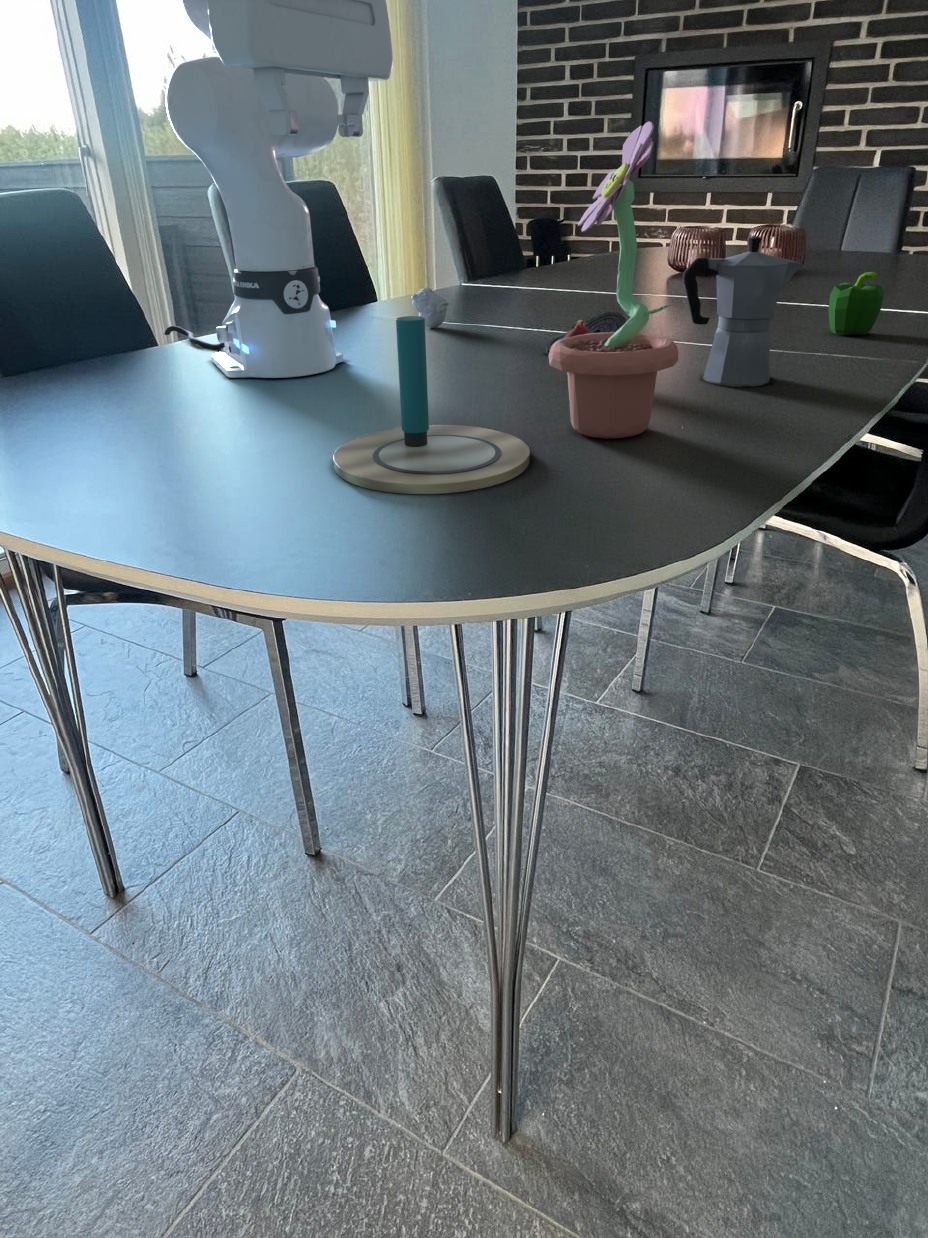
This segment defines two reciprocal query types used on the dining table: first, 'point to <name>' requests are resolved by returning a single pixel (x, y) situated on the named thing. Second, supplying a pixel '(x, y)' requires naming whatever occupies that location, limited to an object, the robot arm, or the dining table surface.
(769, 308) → the coffeepot
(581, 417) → the decorative flower
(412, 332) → the marker
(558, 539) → the dining table surface
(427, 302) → the crumpled paper ball
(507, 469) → the round wooden trivet
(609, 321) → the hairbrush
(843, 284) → the bell pepper
